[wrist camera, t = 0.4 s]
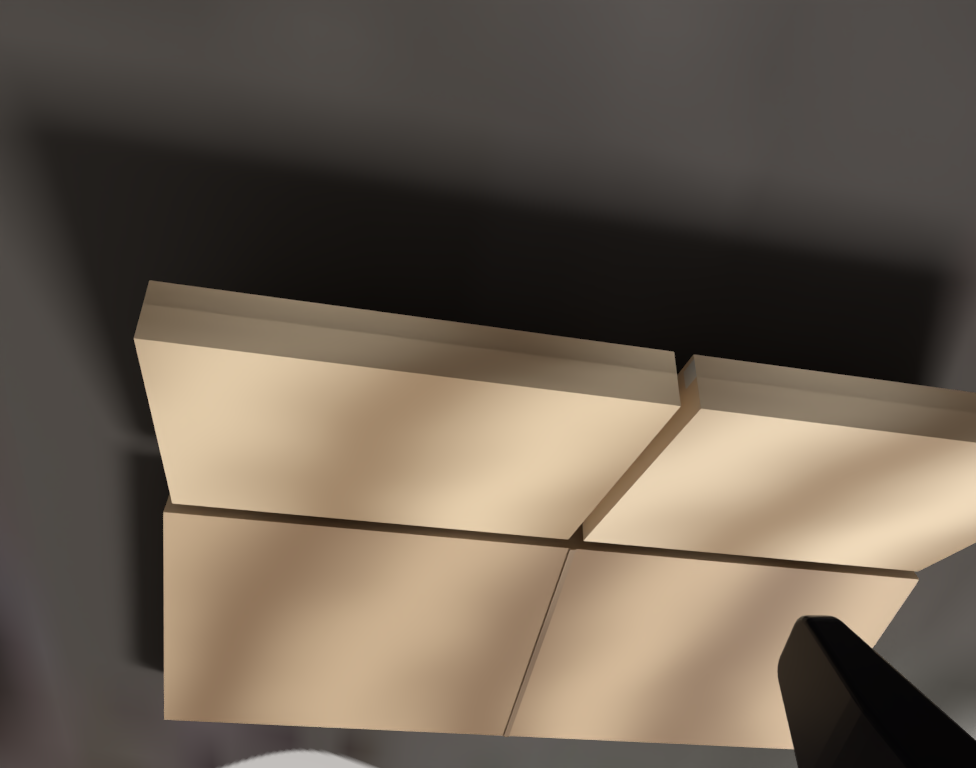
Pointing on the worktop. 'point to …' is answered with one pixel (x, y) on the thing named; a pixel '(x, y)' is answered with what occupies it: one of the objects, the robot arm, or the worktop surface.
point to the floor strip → (488, 629)
